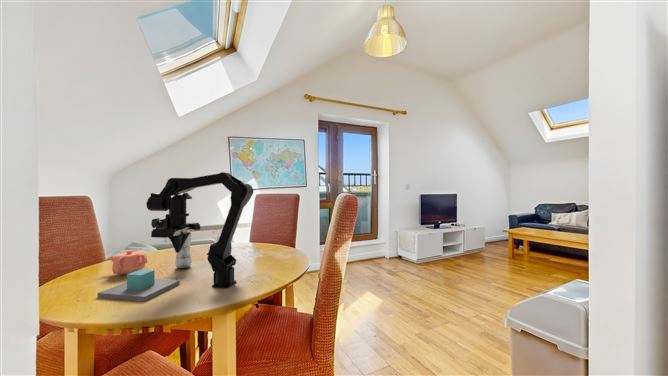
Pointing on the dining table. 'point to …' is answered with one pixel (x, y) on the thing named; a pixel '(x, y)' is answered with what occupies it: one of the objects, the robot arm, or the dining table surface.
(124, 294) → the base plate
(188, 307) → the dining table surface
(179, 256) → the plastic bottle
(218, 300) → the dining table surface
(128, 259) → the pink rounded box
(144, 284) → the turquoise cube
